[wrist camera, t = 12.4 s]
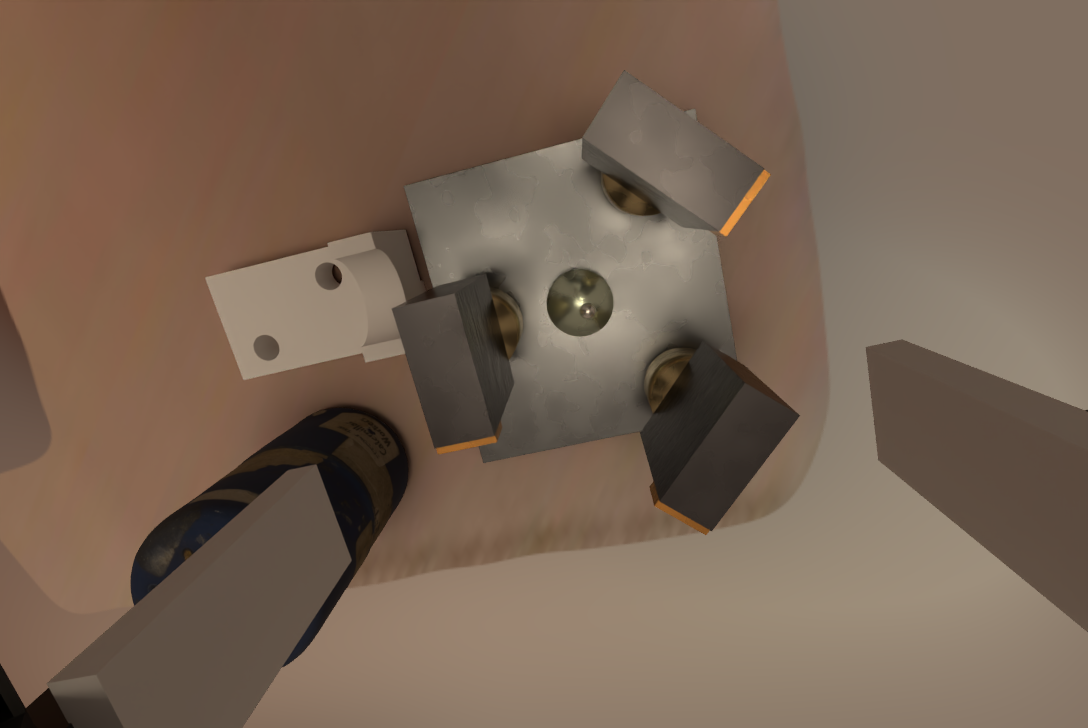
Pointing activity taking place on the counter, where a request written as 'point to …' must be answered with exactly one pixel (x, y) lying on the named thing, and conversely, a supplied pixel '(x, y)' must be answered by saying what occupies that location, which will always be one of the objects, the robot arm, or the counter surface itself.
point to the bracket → (318, 304)
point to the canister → (322, 438)
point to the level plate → (573, 289)
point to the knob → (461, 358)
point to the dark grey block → (667, 161)
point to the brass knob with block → (707, 431)
